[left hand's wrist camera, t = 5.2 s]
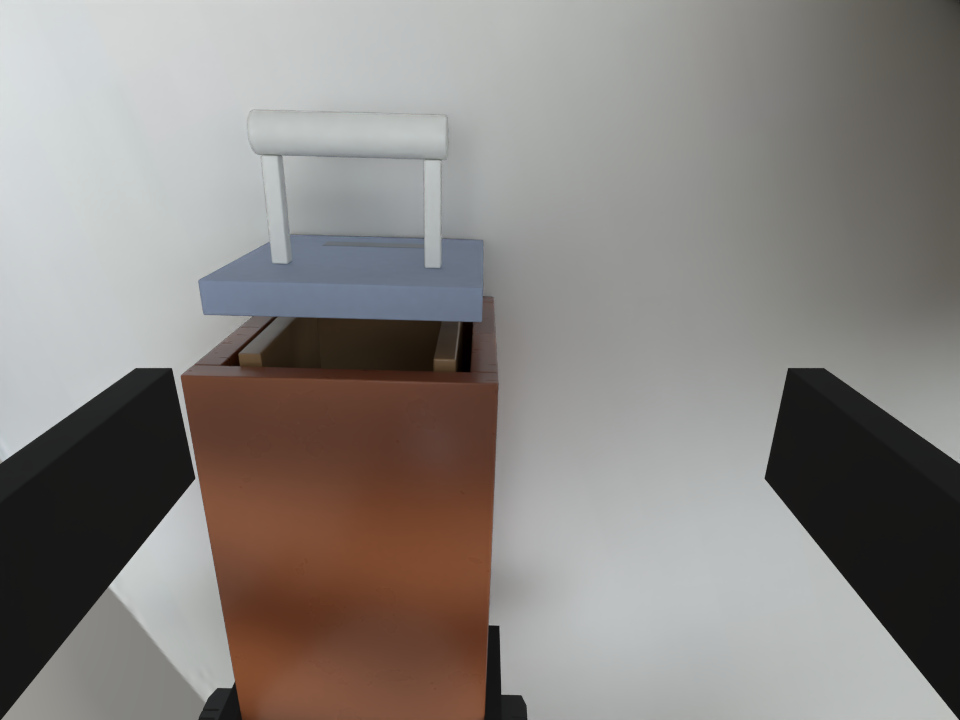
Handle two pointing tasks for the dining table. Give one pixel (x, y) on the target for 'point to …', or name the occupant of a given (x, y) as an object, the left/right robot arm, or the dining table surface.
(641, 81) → the dining table surface
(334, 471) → the cabinet
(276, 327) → the drawer
